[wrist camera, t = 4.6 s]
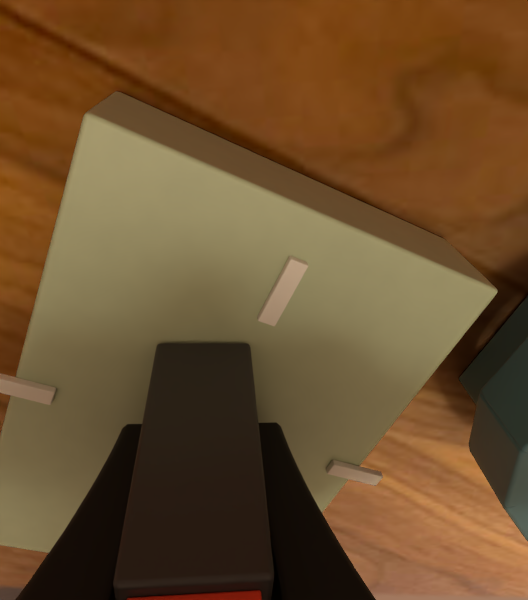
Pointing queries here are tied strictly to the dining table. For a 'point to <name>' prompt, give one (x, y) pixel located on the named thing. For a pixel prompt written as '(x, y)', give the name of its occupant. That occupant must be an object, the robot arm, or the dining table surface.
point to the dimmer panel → (217, 309)
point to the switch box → (503, 414)
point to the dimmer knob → (197, 483)
